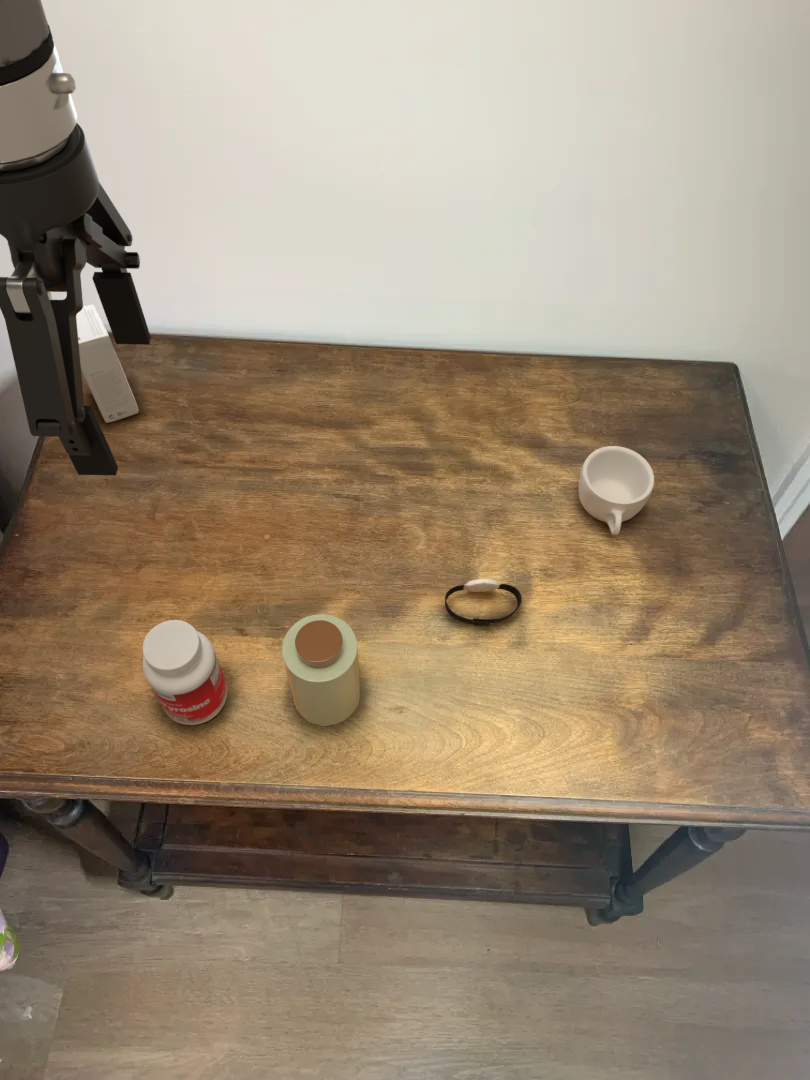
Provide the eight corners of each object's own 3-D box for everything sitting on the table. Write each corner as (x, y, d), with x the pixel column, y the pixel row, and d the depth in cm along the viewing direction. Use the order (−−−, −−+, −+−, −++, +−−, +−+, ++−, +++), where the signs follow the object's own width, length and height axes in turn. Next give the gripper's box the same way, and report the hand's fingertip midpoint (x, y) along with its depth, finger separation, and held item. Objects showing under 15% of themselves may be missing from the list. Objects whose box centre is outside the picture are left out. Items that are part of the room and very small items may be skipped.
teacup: (572, 473, 93) (581, 443, 88) (639, 479, 93) (652, 449, 88) (573, 546, 87) (583, 517, 83) (645, 552, 87) (659, 524, 82)
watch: (516, 587, 84) (520, 569, 81) (521, 628, 82) (526, 610, 79) (442, 590, 84) (444, 571, 81) (445, 630, 81) (447, 613, 78)
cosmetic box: (141, 413, 97) (112, 335, 87) (104, 425, 96) (70, 348, 85) (126, 379, 100) (96, 300, 90) (90, 391, 99) (56, 313, 88)
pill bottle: (156, 725, 75) (124, 675, 66) (170, 664, 79) (142, 609, 69) (222, 729, 75) (200, 680, 66) (234, 668, 79) (214, 613, 69)
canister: (291, 726, 75) (278, 676, 66) (294, 663, 79) (282, 607, 70) (360, 725, 76) (356, 675, 66) (360, 662, 79) (357, 606, 70)
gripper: (20, 283, 38) (135, 536, 56) (123, 29, 52) (190, 296, 70) (-142, 280, 38) (25, 535, 56) (5, 26, 52) (102, 294, 69)
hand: (117, 402), depth 63 cm, fingers open, 13 cm apart
